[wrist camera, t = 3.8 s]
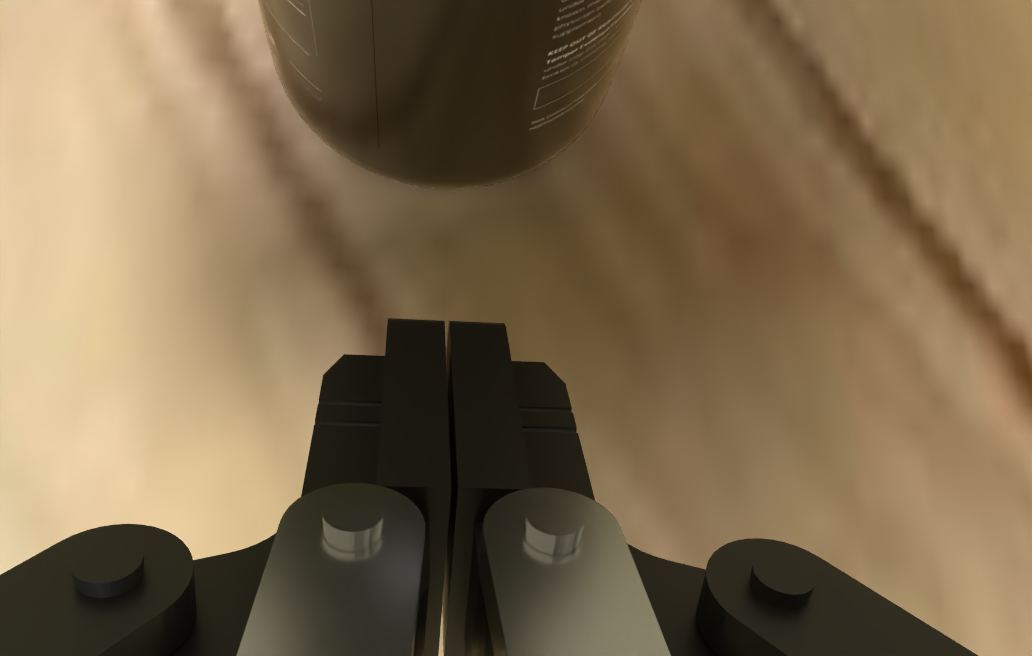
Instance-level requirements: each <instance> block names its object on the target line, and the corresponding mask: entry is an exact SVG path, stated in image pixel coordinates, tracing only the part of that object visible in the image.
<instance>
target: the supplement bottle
mask: <svg viewBox="0 0 1032 656" xmlns="http://www.w3.org/2000/svg"><path fill="white" fill-rule="evenodd" d="M641 2H642V0H258V3H259V7H260V12H261V16H262V20H263V24H264V28H265V32H266V35H267V39H268V43H269V46H270V50H271V54H272V57H273V61H274V65H275V68H276V71H277V73H278V76H279V78H280V81H281V83H282V85H283V88H284V90H285V92H286V94H287V96H288V97H289V99H290V101H291V103H292V105H293V106H294V107H295V109H296V110H297V112H298V113H299V115H300V116H301V117H302V119H303V120H304V121H305V122H306V123H307V124H308V126H309V127H310V128H311V129H312V130H313V131H314V132H315V133H316V134H317V135H318V136H319V137H320V138H321V139H322V140H323V141H324V142H325V143H326V144H328V145H329V146H330V147H331V148H333V149H334V150H335V151H336V152H338V153H339V154H341V155H342V156H344V157H345V158H347V159H348V160H350V161H351V162H353V163H355V164H357V165H359V166H361V167H362V168H364V169H366V170H368V171H370V172H373V173H375V174H378V175H380V176H383V177H385V178H389V179H392V180H395V181H398V182H402V183H406V184H411V185H416V186H422V187H430V188H444V189H459V188H473V187H479V186H486V185H491V184H495V183H499V182H503V181H506V180H509V179H512V178H515V177H518V176H520V175H523V174H525V173H527V172H529V171H531V170H533V169H535V168H537V167H539V166H541V165H542V164H544V163H546V162H547V161H549V160H550V159H552V158H553V157H554V156H556V155H557V154H559V153H560V152H561V151H563V150H564V149H565V148H566V147H567V146H568V145H569V144H570V143H572V142H573V141H574V140H575V139H576V138H577V137H578V136H579V134H580V133H581V132H582V131H583V130H584V129H585V128H586V126H587V125H588V124H589V122H590V121H591V119H592V118H593V117H594V115H595V113H596V111H597V110H598V108H599V106H600V104H601V103H602V101H603V99H604V97H605V95H606V92H607V90H608V88H609V85H610V83H611V80H612V78H613V75H614V73H615V70H616V68H617V66H618V63H619V61H620V58H621V56H622V53H623V50H624V48H625V45H626V42H627V40H628V37H629V34H630V31H631V29H632V26H633V23H634V21H635V18H636V15H637V13H638V10H639V7H640V4H641Z"/></svg>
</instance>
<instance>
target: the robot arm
mask: <svg viewBox="0 0 1032 656" xmlns="http://www.w3.org/2000/svg"><path fill="white" fill-rule="evenodd" d="M571 409H572V408H571V404H570V400H569V396H568V392H567V388H566V384H565V383H564V382H563V381H562V380H561V379H560V378H559V377H558V376H557V375H556V374H555V373H554V372H553V371H552V370H551V369H550V368H549V367H548V366H547V365H546V364H545V363H544V362H521V361H511V356H510V349H509V343H508V337H507V331H506V326H505V324H504V323H483V322H462V321H449V323H448V330H447V342H446V345H445V323H444V321H436V320H414V319H392V318H388V326H387V339H386V353H385V356H370V355H346V354H344V355H343V356H342V357H341V358H340V359H339V360H338V361H337V362H336V363H335V364H334V365H333V366H332V367H331V368H330V369H329V370H328V371H327V372H326V373H325V374H324V375H323V380H322V385H321V391H320V396H319V404H318V407H317V413H316V418H315V425H314V429H313V435H312V440H311V446H310V451H309V457H308V462H307V468H306V473H305V479H304V484H303V490H302V495H301V498H299V499H297V500H296V501H295V502H294V503H293V504H292V505H291V506H289V508H288V509H287V510H286V512H285V513H284V515H283V517H282V519H281V521H280V524H279V527H278V530H277V533H276V534H274V535H273V536H271V537H270V538H268V539H266V540H264V541H262V542H260V543H258V544H256V545H253V546H251V547H248V548H245V549H242V550H238V551H235V552H231V553H226V554H222V555H217V556H212V557H207V558H202V559H198V560H193V559H192V555H191V553H190V551H189V549H188V547H187V546H186V545H185V544H184V542H183V541H181V540H180V539H179V538H178V537H176V536H175V535H173V534H171V533H169V532H167V531H165V530H162V529H159V528H156V527H152V526H146V525H138V524H119V525H109V526H103V527H98V528H94V529H90V530H86V531H84V532H81V533H78V534H75V535H73V536H71V537H69V538H67V539H65V540H62V541H60V542H59V543H57V544H55V545H53V546H51V547H50V548H48V549H46V550H44V551H42V552H41V553H39V554H37V555H35V556H34V557H32V558H30V559H28V560H26V561H25V562H23V563H21V564H19V565H17V566H16V567H14V568H12V569H10V570H8V571H7V572H5V573H3V574H1V575H0V656H438V651H439V638H440V625H441V613H442V610H443V652H444V656H978V655H976V654H975V653H973V652H971V651H970V650H968V649H966V648H965V647H963V646H962V645H960V644H958V643H957V642H955V641H954V640H952V639H950V638H949V637H947V636H945V635H944V634H942V633H941V632H939V631H937V630H936V629H934V628H933V627H931V626H929V625H928V624H926V623H924V622H923V621H921V620H920V619H918V618H916V617H915V616H913V615H912V614H910V613H908V612H907V611H905V610H903V609H902V608H900V607H899V606H897V605H895V604H894V603H892V602H891V601H889V600H887V599H886V598H884V597H882V596H881V595H879V594H878V593H876V592H874V591H873V590H871V589H870V588H868V587H866V586H865V585H863V584H861V583H860V582H858V581H857V580H855V579H853V578H852V577H850V576H849V575H847V574H845V573H844V572H842V571H840V570H839V569H837V568H836V567H834V566H832V565H831V564H829V563H828V562H826V561H824V560H823V559H821V558H819V557H818V556H816V555H814V554H812V553H810V552H809V551H806V550H804V549H802V548H799V547H797V546H794V545H791V544H788V543H785V542H780V541H776V540H770V539H743V540H737V541H734V542H731V543H728V544H726V545H724V546H722V547H720V548H719V549H718V550H717V551H715V552H714V553H713V555H712V556H711V558H710V559H709V562H708V564H707V567H706V570H704V569H700V568H696V567H692V566H688V565H684V564H680V563H676V562H672V561H668V560H665V559H661V558H658V557H655V556H652V555H649V554H647V553H644V552H642V551H640V550H638V549H636V548H634V547H632V546H631V545H629V544H627V542H626V540H625V537H624V535H623V532H622V530H621V527H620V525H619V524H618V522H617V520H616V519H615V518H614V516H613V515H612V514H611V513H610V512H609V511H608V510H607V509H606V508H604V507H603V506H602V505H600V504H599V503H597V502H596V501H595V499H594V495H593V491H592V487H591V483H590V479H589V475H588V471H587V467H586V463H585V459H584V455H583V451H582V447H581V444H580V440H579V436H578V433H576V429H577V428H576V424H575V420H574V416H573V413H571Z"/></svg>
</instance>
